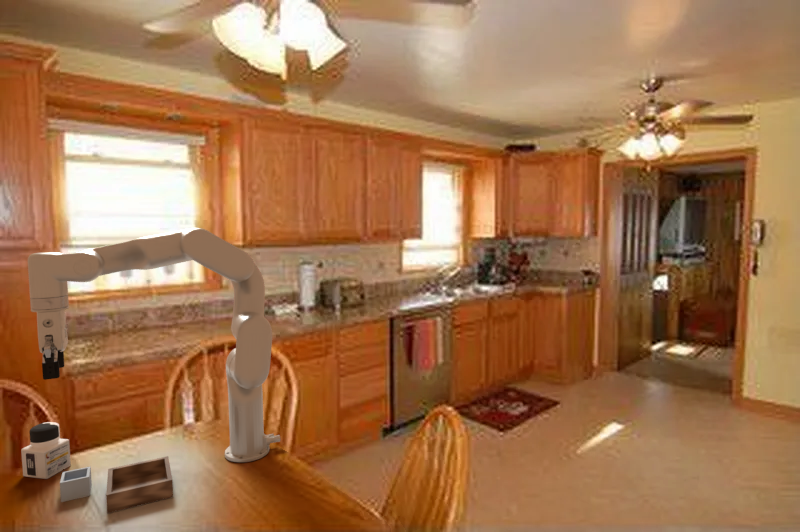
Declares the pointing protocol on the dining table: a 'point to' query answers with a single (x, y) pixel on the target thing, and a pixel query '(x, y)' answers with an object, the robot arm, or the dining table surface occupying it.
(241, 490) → the dining table surface
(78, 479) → the small crate
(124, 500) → the box
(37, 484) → the dining table surface
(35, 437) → the container
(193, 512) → the dining table surface
